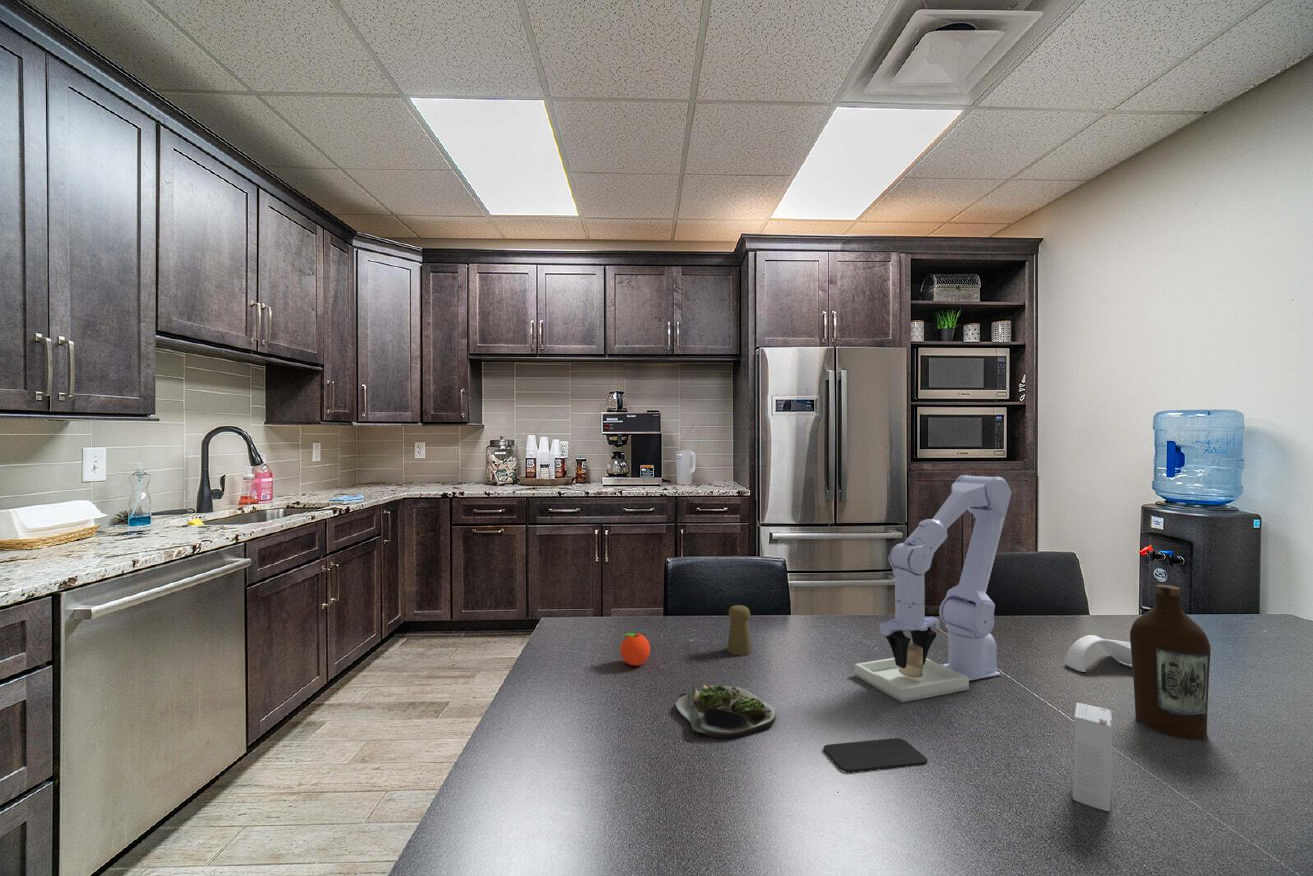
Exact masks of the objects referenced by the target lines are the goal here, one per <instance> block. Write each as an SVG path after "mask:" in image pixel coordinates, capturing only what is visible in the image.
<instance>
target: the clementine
mask: <svg viewBox="0 0 1313 876" xmlns="http://www.w3.org/2000/svg"><path fill="white" fill-rule="evenodd" d="M624 636H626V637H624ZM622 637H624V639H623V640H622V641H621V644H620V649H619V650H620V656H621V659H622V660H623V661H624V662H625V663H626V664H627V665H629V666H635V667H636V666H641V665H643V664H644V663H645V662H646V661H647V660H648V659H649V656H650V653H651V647H650V646H651V645H650V642H649V640H648V638H646V637H645V636H644V635H643V634H640V633H633V632H629V633H626V634H623V635H622V636H620V638H619V639H621V638H622Z"/></svg>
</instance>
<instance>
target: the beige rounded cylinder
mask: <svg viewBox="0 0 1313 876" xmlns="http://www.w3.org/2000/svg"><path fill="white" fill-rule="evenodd" d="M899 672H900V673H901V674H902V675H905V676H908V677H914V678H918V677H922V676H923V648H922V647H921V646H918V645H915V644H913V643H910V642H909V645H908V649H907V661H906V668H901V667H899Z"/></svg>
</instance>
